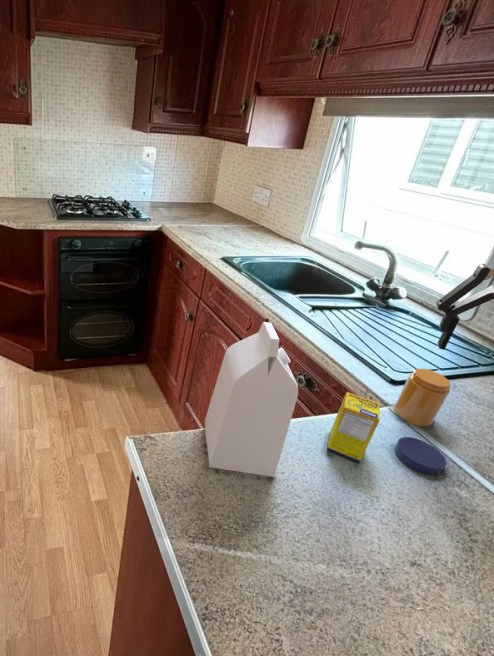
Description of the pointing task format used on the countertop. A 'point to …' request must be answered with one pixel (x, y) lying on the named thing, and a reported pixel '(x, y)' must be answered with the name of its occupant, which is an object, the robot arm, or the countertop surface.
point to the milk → (251, 405)
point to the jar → (422, 397)
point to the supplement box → (353, 427)
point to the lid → (420, 456)
